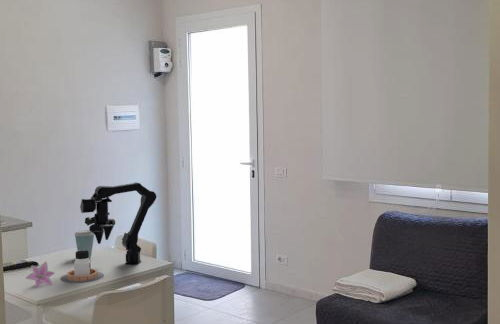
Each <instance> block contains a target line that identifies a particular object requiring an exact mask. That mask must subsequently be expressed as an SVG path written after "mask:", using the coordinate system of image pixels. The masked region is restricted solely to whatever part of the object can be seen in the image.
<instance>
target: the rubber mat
mask: <svg viewBox="0 0 500 324" xmlns="http://www.w3.org/2000/svg"><path fill="white" fill-rule="evenodd" d="M104 276H105V275H104V273H102V272H99V271H98V277H96V278H95V279H91V280H87V281H71V280H67V273H66V274H64V275H62V276H61V277H60V278H59V279H60V281H61V282H63V283H66V284H67V283H69V284H83V283H84V284H85V283H92V282H96V281H99V280H101V279H103V278H104Z"/></svg>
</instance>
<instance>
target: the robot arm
mask: <svg viewBox="0 0 500 324" xmlns="http://www.w3.org/2000/svg"><path fill="white" fill-rule="evenodd" d="M130 192H137V193H138V194H139V195H140V196H141V197H140V205H139V209H138V210H137V213H136V215H135V217H134V220H133V221H132V225H131V228H130V229H129V231H128V232H124V233H123V237H122V238H121V240H122V241H121V245H122V247H124V248H125V250H126V253H125V265H139V264H140V263H142V259H141V251H142V248H141V246H139V244H138V241H139V232H140V230H141V229H142V228H141V227H142V226H143V223H144V221H145V218H146V216H147V213H148V211H149V209H150V208H151V206H152V205H153V204H155V201H156V199H157V194H156V192H155V191H152V190H149V189H148V188H146V187H145V186H143V185H142V184H141V183H140V182H135V181H134V182H133V183H132V182H131V183H125V184H119V185H114V186H113V185H111V186H109V185H99V186H97V187H96V188H95V189H94V193H93V194H92V196H91V197H90V198H81V202H80V206H79V209H80V212H81V214H84V213H85V214H86V213H87V214H88V213H94V212H95V211H96V213H94V216H92V217H90V216H87V217H85V219H84V224H86V226H89V227H88V228H89V229H88V230H89V231H91V232H93V233H94V234H95V235H94V237H95V238H96V242H97V244H98V245H100V244H101V243H102V239H103V236H104V238H105V241H108V240H109V238H110V236H111V233H112V231H113V229H114V227H115V226H116V220H115V219H114V218H109V215H110V212H109V203H111V202H113V200H112V199H111V198H110V197H112V196H113V195H117V194H118V195H119V194H124V193H130Z"/></svg>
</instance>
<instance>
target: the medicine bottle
mask: <svg viewBox="0 0 500 324" xmlns="http://www.w3.org/2000/svg"><path fill="white" fill-rule="evenodd" d="M91 265H92V264H91V258H89V252H88V251H87V250H79V251H77V250H76V251H75V260H74V263H73V267H74V268H73V270H74V273H75V276H84V275H90V274H91V269H92V268H91Z"/></svg>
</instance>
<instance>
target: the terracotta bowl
mask: <svg viewBox="0 0 500 324" xmlns="http://www.w3.org/2000/svg"><path fill="white" fill-rule="evenodd" d="M98 272H99V271H98V270H97V269H95V268H91V274H90V275H84V276H75V273H74V269H72V270H69V271H67V272H66V274H67V280H71V281H87V280H91V279H95V278H96V277H98Z"/></svg>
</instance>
